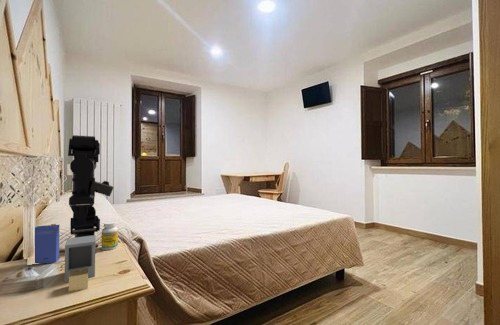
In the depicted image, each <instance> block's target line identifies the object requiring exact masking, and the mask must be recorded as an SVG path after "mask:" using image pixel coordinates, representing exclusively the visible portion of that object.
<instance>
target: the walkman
mask: <svg viewBox="0 0 500 325" xmlns="http://www.w3.org/2000/svg"><path fill="white" fill-rule="evenodd" d="M34 226H35V263H47V264H54V263H55V264H56V263H57V262H58V261H59V260H60V224H56V223H52V224H49V225H34Z"/></svg>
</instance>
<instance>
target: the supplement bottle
mask: <svg viewBox="0 0 500 325" xmlns="http://www.w3.org/2000/svg"><path fill="white" fill-rule="evenodd" d="M103 227H104V228H103V229H102V230H101V249H102V250H103V251H110V250H114V249H117V248H118V246H119V228H118V227H117V223H116V221H106V222H104V223H103Z"/></svg>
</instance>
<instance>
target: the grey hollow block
mask: <svg viewBox="0 0 500 325" xmlns="http://www.w3.org/2000/svg"><path fill="white" fill-rule="evenodd" d="M95 245H96V235H92V236H84V237H76V238H75V237H69V238H67V239H66V242H65V244H64V283H69V274H70V271H73V270H79V269H84V268H88V278H92V277H93V278H94V277H95V276H96V247H95Z"/></svg>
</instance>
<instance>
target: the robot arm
mask: <svg viewBox="0 0 500 325" xmlns="http://www.w3.org/2000/svg"><path fill="white" fill-rule="evenodd" d="M67 151H68V154H67V156H68V157H73V159H72V161H71V162H70V165H69V168H70V171H71V172H72V178H71V181H72V191H71V196H70V197H68V206H69V208H70V210H71V211H72V217H71V218H70V224H69V225H70V228H69V229H70V236H72V235H74V238H76V237H84V236H92V235H95V233H98V231H101V224H100V223H101V219H100V218H99V215H96V214H97V213H96V212H97V210H96V208H95V207H94V204H95V197H96V193H97V194H102V195H104V196H106V197H110V196H112V193H113V190H114V188H115V187H114V186H113V185H110V181H107V180H103V181H102V182H99V181H96V177H95V170H96V168H97V163H99V158H100V157H99V155H100V154H101V152H100V151H101V144H100V142H99V140H98V139H96V136H95V135H94V136H92V135H91V136H90V135H79V134H78V135H77V134H75V135H74V134H73V135H72V137H71V138H69V140H68V150H67ZM98 247H99V244H95V248H98Z"/></svg>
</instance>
